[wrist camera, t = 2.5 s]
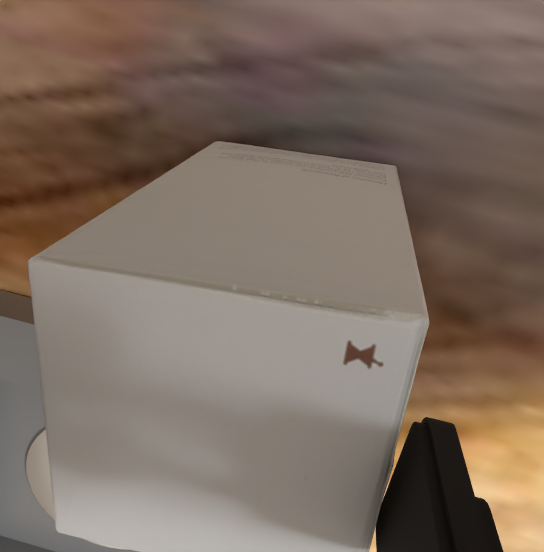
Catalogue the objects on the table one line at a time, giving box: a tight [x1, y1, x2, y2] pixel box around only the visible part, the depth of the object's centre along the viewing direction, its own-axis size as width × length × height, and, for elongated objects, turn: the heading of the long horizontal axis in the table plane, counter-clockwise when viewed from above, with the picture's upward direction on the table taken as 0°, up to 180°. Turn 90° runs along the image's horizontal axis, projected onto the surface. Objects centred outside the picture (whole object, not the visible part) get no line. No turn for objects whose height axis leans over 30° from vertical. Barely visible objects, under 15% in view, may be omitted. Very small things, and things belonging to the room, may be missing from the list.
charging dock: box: [0, 290, 139, 552], centre depth 28 cm, size 20×20×2 cm
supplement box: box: [28, 141, 429, 552], centre depth 16 cm, size 7×7×13 cm
